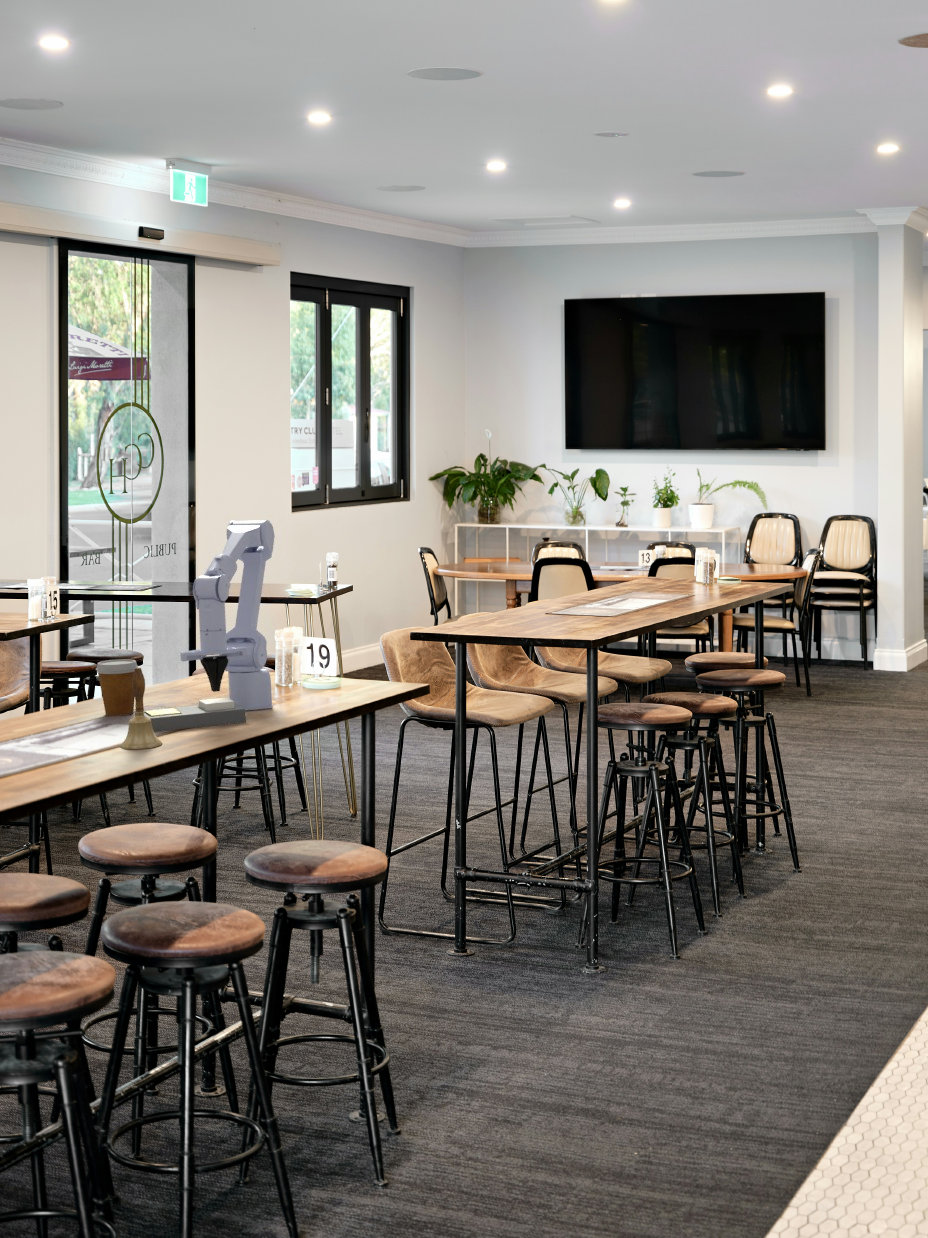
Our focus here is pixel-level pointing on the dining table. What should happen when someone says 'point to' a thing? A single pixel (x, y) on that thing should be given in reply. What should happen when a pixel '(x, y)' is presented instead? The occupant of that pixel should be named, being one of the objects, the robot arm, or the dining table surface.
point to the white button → (216, 704)
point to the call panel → (196, 718)
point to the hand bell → (140, 719)
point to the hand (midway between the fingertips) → (215, 690)
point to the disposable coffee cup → (117, 686)
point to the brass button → (162, 712)
